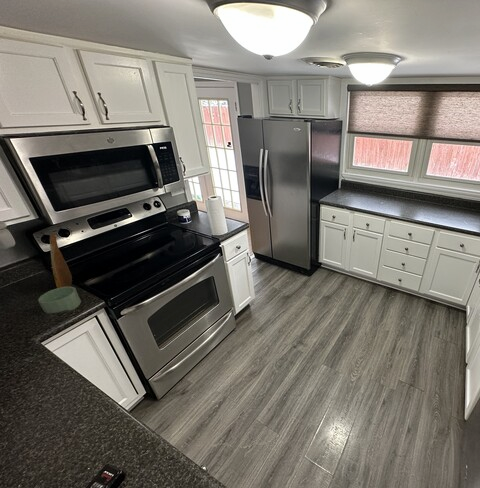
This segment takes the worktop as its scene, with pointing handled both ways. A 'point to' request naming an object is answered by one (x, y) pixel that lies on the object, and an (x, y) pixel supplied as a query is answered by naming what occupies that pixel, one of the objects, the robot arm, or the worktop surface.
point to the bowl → (60, 300)
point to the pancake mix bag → (59, 265)
